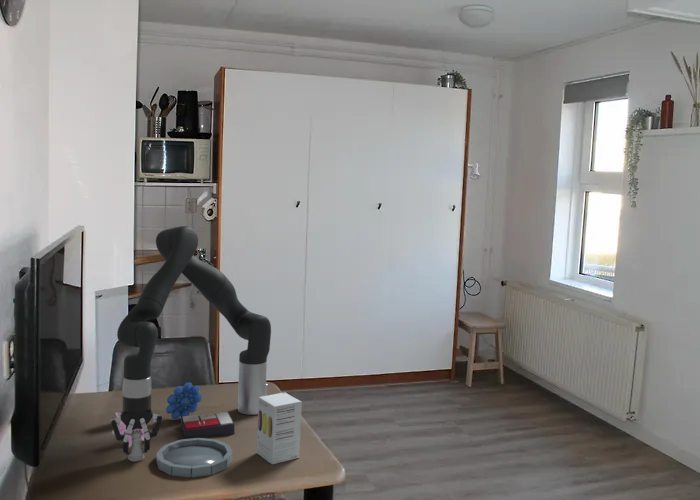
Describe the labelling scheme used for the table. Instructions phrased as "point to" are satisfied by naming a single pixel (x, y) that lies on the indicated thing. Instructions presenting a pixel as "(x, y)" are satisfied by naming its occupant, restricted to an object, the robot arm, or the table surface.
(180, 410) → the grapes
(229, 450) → the round tray
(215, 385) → the table surface
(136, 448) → the rook chess piece
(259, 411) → the supplement box
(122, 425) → the lily
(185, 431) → the calculator
